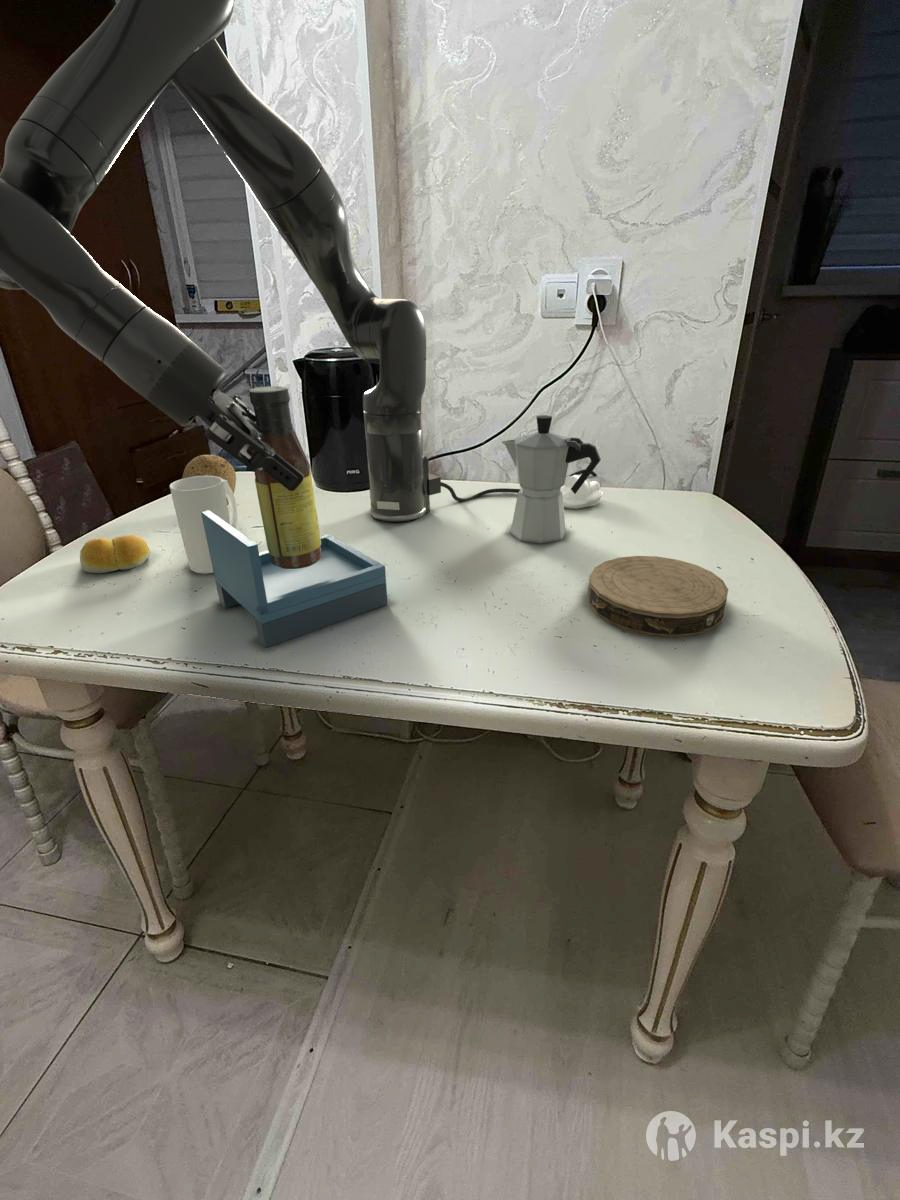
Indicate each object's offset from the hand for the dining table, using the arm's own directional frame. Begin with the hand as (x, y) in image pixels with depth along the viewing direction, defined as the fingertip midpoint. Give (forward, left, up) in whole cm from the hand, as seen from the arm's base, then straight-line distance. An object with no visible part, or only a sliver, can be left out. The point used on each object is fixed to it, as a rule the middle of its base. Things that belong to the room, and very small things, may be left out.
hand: (299, 475), depth 70 cm
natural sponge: (-3, -43, -16) cm, 46 cm away
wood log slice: (-32, +27, -16) cm, 45 cm away
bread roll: (+16, -30, -16) cm, 38 cm away
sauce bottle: (+2, -1, -11) cm, 11 cm away
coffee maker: (-39, +2, -16) cm, 42 cm away
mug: (+4, -21, -16) cm, 27 cm away
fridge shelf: (+1, -1, -16) cm, 16 cm away
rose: (-55, -6, -16) cm, 57 cm away
